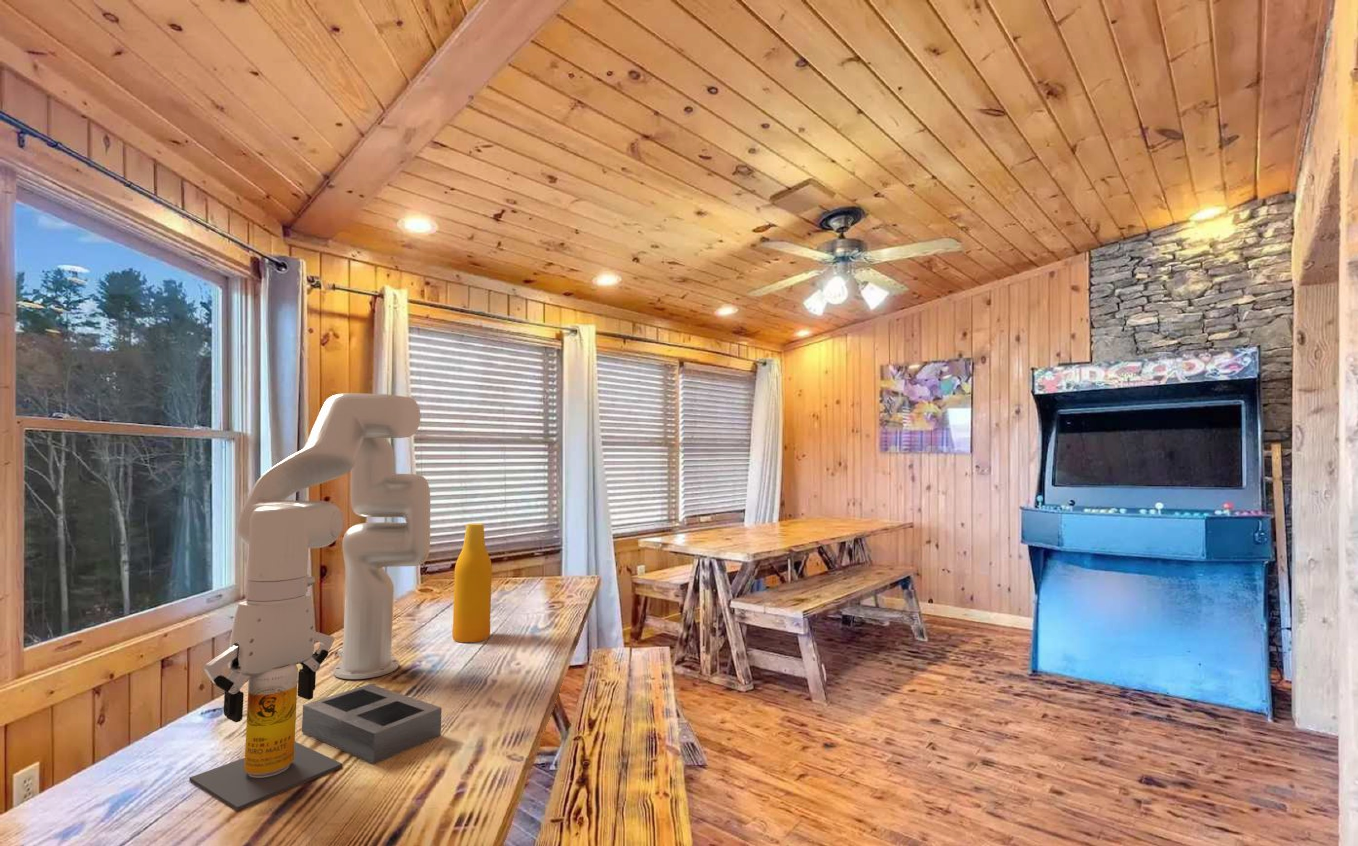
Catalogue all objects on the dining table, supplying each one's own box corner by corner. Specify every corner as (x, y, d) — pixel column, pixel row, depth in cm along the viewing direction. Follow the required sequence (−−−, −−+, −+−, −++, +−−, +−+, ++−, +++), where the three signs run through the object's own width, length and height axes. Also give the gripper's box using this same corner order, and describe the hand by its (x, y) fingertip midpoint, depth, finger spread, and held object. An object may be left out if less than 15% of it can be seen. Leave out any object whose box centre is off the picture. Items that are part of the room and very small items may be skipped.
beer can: (240, 783, 88) (246, 673, 89) (247, 764, 93) (252, 661, 94) (291, 773, 90) (296, 667, 91) (295, 756, 96) (299, 655, 97)
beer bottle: (483, 643, 157) (487, 526, 158) (446, 642, 157) (450, 525, 158) (494, 633, 166) (498, 522, 167) (459, 632, 166) (463, 522, 168)
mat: (189, 780, 89) (189, 777, 89) (292, 743, 101) (292, 740, 101) (237, 810, 82) (237, 806, 82) (342, 766, 94) (342, 763, 94)
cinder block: (301, 732, 105) (303, 704, 105) (369, 708, 115) (370, 683, 116) (373, 764, 95) (374, 733, 95) (440, 734, 105) (441, 707, 105)
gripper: (321, 577, 102) (316, 685, 101) (196, 596, 88) (189, 722, 87) (348, 583, 98) (343, 694, 97) (222, 604, 84) (215, 736, 83)
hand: (271, 707), depth 92 cm, fingers open, 9 cm apart
